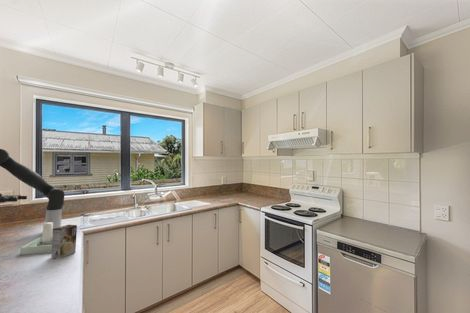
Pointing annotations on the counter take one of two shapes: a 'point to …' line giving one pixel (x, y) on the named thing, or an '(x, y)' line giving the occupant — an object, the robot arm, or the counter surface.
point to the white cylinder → (47, 232)
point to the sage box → (36, 247)
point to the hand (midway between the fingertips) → (22, 198)
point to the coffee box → (63, 241)
